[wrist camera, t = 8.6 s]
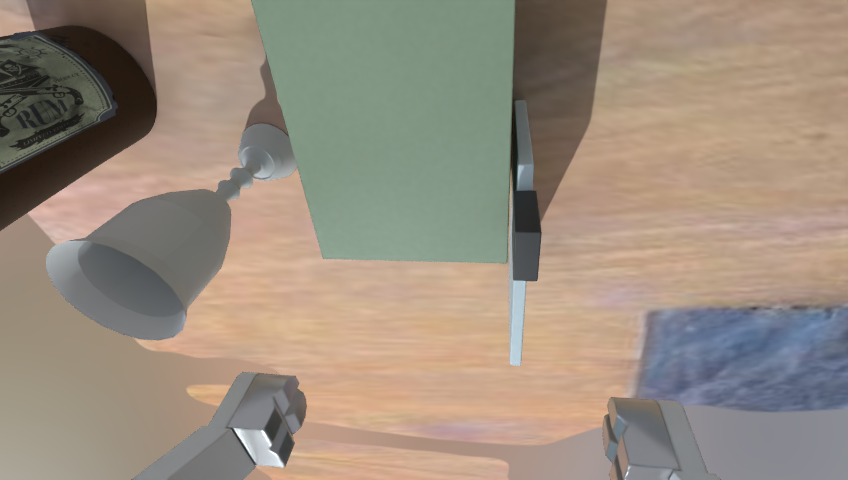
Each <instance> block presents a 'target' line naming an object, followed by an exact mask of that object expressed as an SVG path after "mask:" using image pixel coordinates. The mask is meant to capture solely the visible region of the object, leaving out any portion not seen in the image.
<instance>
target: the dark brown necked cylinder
mask: <svg viewBox="0 0 848 480" xmlns="http://www.w3.org/2000/svg"><path fill="white" fill-rule="evenodd" d="M155 117H156V105H155V99H154V95H153V92H152V89H151V87H150V84H149V82H148V80H147V78H146V77H145V75H144V73H143V72H142V70H141V69H140V67H139V66H138V65H137V63H136V62H135V61H134V60H133V58H132V57H131V56H130V55H129V54H128V53H127V52H126V51H125V50H124V49H123V48H121V47H120V46H119V45H118V44H117V43H115V42H114V41H113V40H111V39H110V38H108V37H106V36H105V35H103V34H101V33H99V32H97V31H94V30H92V29H89V28H86V27H81V26H62V27H55V28H50V29H44V30H38V31H32V32H30V31H28V32H20V33H15V34H14V35H9V36H3V37H0V231H1V230H2V229H4V228H5V227H7V226H8V225H10V224H11V223H13V222H14V221H16V220H17V219H18V218H20V217H22V216H23V215H25V214H26V213H28V212H29V211H31V210H32V209H33V208H35V207H36V206H38V205H39V204H41V203H42V202H44V201H45V200H47V199H48V198H50V197H51V196H53V195H54V194H56V193H57V192H59V191H61V190H62V189H64V188H65V187H67V186H68V185H70V184H71V183H73V182H74V181H76V180H77V179H79V178H80V177H82V176H83V175H85V174H86V173H88V172H89V171H91V170H92V169H94V168H96V167H97V166H99V165H100V164H102V163H103V162H105V161H107V160H108V159H110V158H111V157H113V156H115V155H116V154H118V153H119V152H121V151H123V150H124V149H126V148H127V147H129V146H131V145H132V144H134V143H136V142H137V141H139V140H140V139H142V138H143V137H145V136H146V135H147V134H148V133H149V132H150V130H151V129H152V127H153V125H154V122H155Z"/></svg>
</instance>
